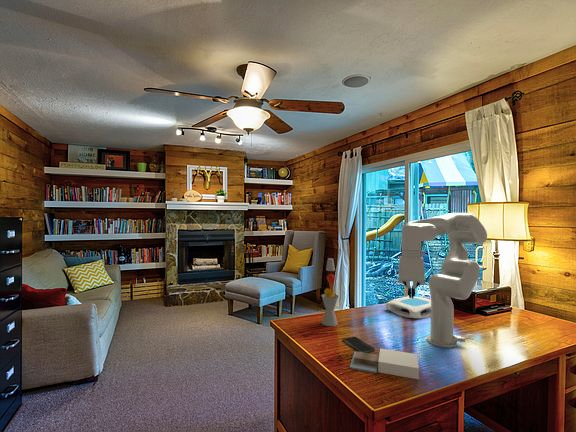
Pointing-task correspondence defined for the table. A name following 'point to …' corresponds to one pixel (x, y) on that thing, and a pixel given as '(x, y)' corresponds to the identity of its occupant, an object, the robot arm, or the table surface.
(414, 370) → the riser
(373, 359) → the walnut tile
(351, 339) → the phone
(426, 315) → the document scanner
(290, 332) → the table surface
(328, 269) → the lava lamp
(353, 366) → the mat
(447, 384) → the table surface
